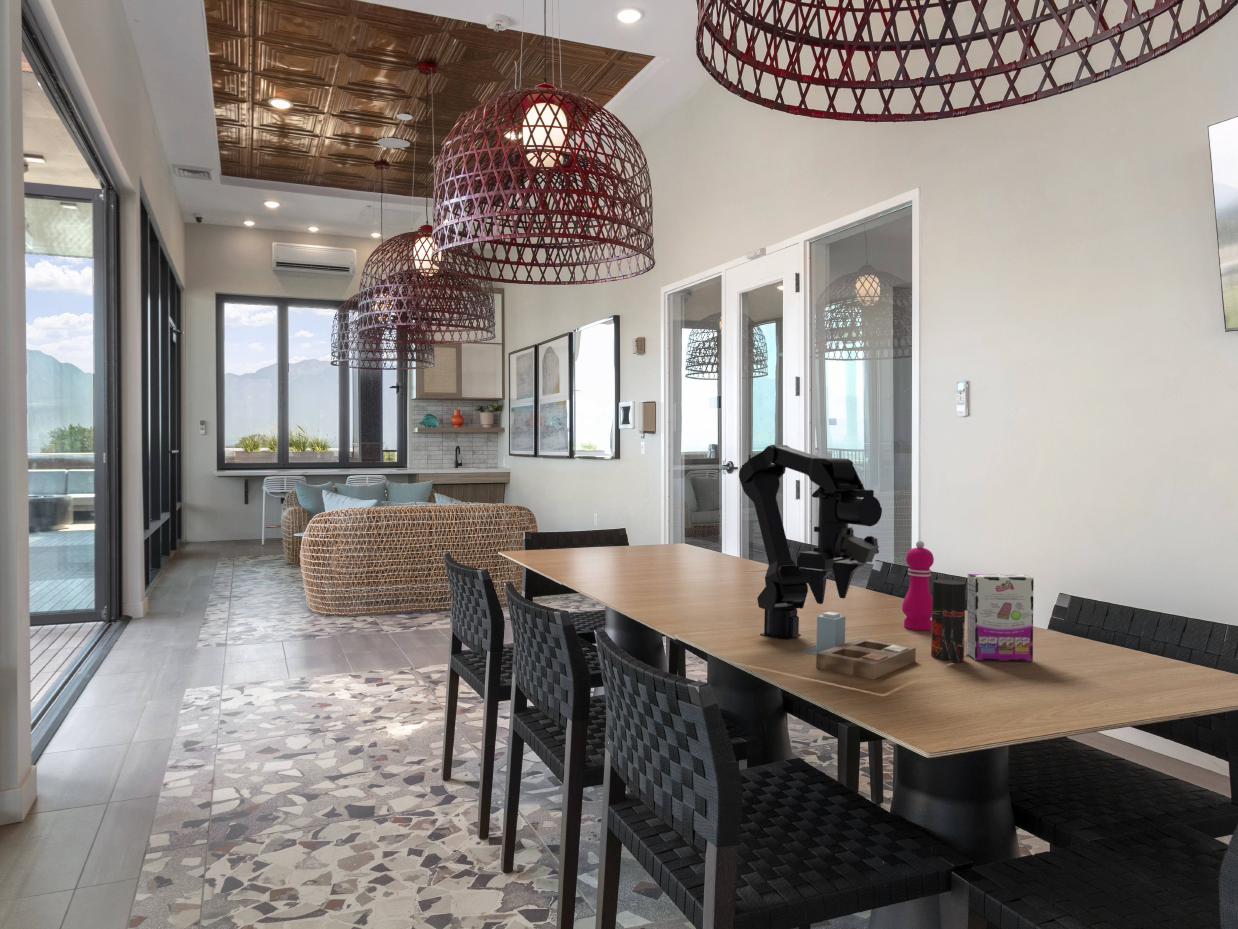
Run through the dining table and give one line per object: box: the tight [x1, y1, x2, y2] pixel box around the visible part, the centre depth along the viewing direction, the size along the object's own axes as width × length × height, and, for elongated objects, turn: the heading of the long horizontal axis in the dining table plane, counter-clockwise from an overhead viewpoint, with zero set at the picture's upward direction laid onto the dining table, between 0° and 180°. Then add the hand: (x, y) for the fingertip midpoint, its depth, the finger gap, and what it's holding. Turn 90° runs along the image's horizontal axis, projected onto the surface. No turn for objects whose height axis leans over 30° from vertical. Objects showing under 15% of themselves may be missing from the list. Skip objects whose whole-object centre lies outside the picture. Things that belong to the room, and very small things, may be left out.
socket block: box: [815, 638, 917, 680], centre depth 154 cm, size 11×18×3 cm, turn 138°
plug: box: [816, 611, 846, 652], centre depth 164 cm, size 4×4×8 cm
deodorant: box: [930, 579, 967, 664], centre depth 161 cm, size 6×6×15 cm
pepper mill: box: [901, 540, 935, 631], centre depth 191 cm, size 7×7×20 cm
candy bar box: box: [966, 573, 1035, 663], centre depth 163 cm, size 11×5×16 cm, turn 88°
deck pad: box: [798, 645, 819, 656], centre depth 164 cm, size 9×9×1 cm
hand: (831, 600), depth 164 cm, fingers open, 9 cm apart
